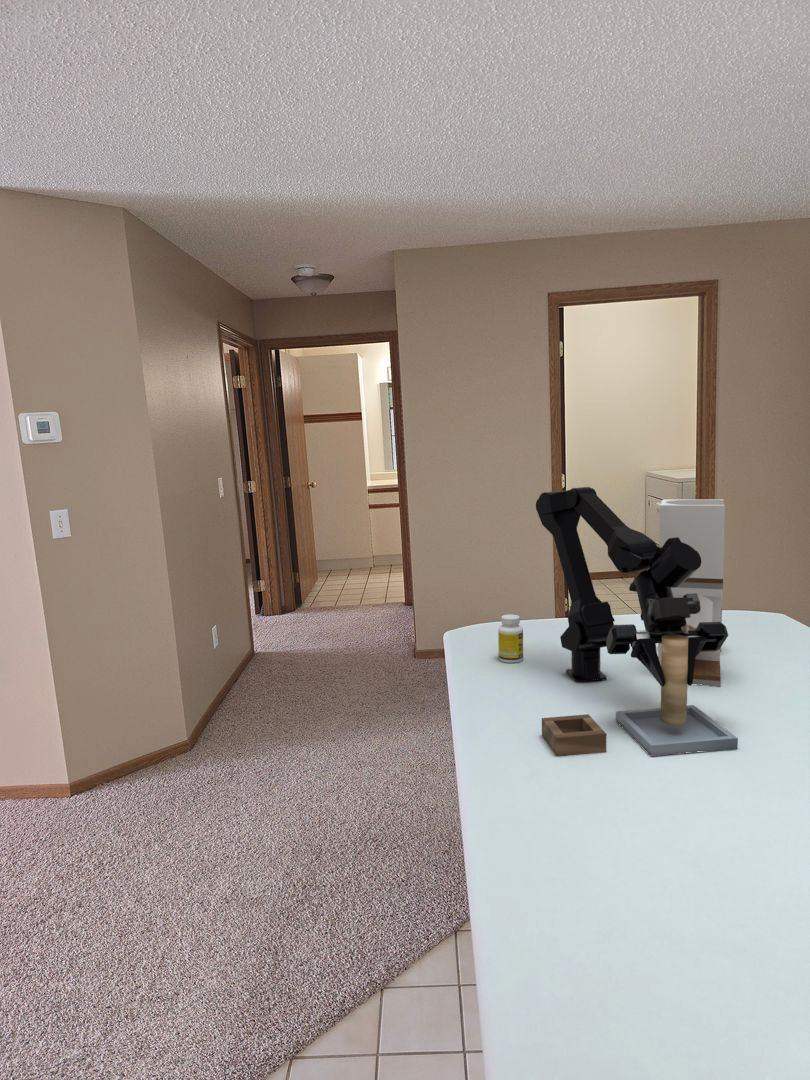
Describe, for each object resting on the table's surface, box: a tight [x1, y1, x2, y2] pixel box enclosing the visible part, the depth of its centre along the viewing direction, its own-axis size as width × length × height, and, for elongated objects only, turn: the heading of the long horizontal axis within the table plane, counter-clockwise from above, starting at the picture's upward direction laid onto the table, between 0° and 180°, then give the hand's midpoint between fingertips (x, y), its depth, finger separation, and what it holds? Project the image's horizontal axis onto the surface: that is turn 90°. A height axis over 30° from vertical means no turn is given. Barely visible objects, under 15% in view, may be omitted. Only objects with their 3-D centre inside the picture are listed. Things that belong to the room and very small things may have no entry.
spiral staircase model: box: [657, 498, 726, 688], centre depth 145 cm, size 11×11×35 cm
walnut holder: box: [541, 713, 607, 757], centre depth 119 cm, size 8×8×3 cm
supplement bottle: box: [497, 614, 524, 664], centre depth 162 cm, size 5×5×10 cm
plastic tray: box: [615, 704, 739, 757], centre depth 121 cm, size 14×14×2 cm
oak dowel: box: [660, 634, 688, 726], centre depth 119 cm, size 4×4×14 cm
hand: (676, 685), depth 118 cm, fingers closed on oak dowel, 4 cm apart
